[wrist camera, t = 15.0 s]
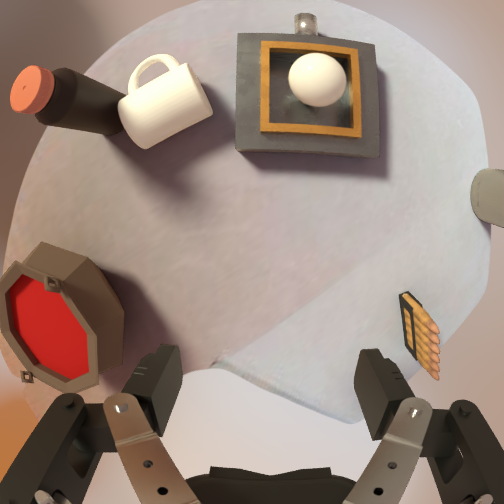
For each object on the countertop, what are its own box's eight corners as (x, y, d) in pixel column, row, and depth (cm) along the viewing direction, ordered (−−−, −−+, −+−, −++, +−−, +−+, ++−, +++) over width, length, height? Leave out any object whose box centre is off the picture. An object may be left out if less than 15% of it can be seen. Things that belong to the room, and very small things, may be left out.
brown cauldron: (61, 202, 41) (-9, 220, 26) (171, 291, 44) (129, 348, 29) (27, 302, 47) (-24, 337, 31) (115, 377, 50) (78, 433, 34)
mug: (217, 119, 38) (206, 107, 30) (154, 151, 39) (131, 147, 31) (185, 53, 35) (170, 31, 27) (127, 85, 36) (102, 71, 29)
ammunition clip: (398, 294, 43) (432, 330, 31) (408, 290, 43) (444, 324, 31) (405, 346, 45) (433, 387, 34) (414, 342, 45) (443, 381, 34)
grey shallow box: (362, 33, 33) (374, 17, 27) (368, 158, 38) (384, 156, 32) (241, 24, 34) (237, 5, 28) (238, 151, 39) (233, 147, 33)
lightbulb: (330, 77, 34) (351, 48, 24) (331, 120, 36) (354, 102, 25) (283, 74, 35) (290, 41, 24) (284, 117, 36) (291, 97, 26)
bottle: (121, 84, 36) (38, 43, 17) (140, 115, 38) (57, 84, 18) (89, 112, 38) (-1, 92, 18) (107, 144, 39) (14, 135, 20)
